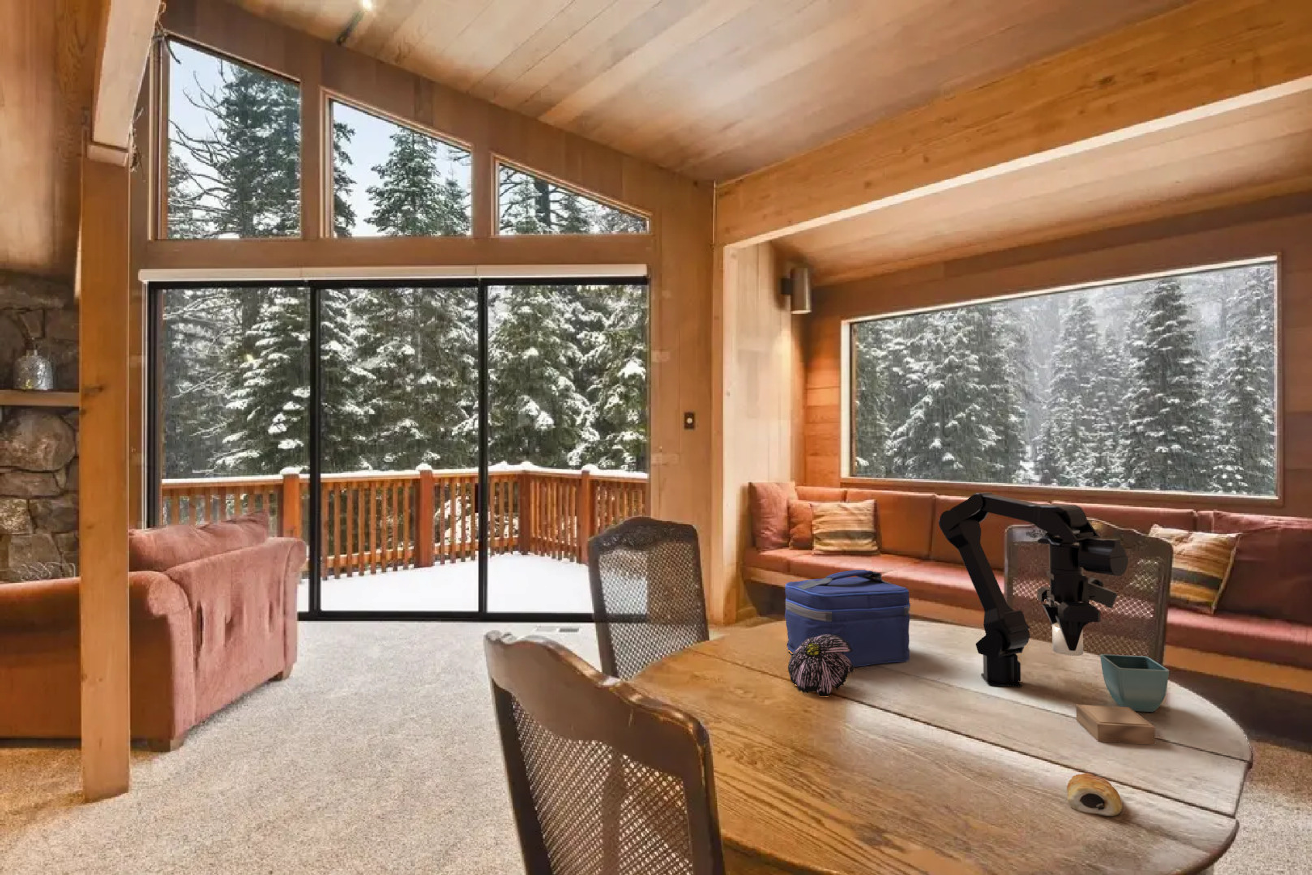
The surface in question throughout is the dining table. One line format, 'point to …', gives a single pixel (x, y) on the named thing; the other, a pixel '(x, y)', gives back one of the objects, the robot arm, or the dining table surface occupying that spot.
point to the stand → (1115, 724)
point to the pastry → (1093, 795)
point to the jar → (1061, 645)
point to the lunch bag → (851, 615)
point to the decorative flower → (820, 664)
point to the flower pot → (1135, 681)
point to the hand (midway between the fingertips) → (1067, 646)
